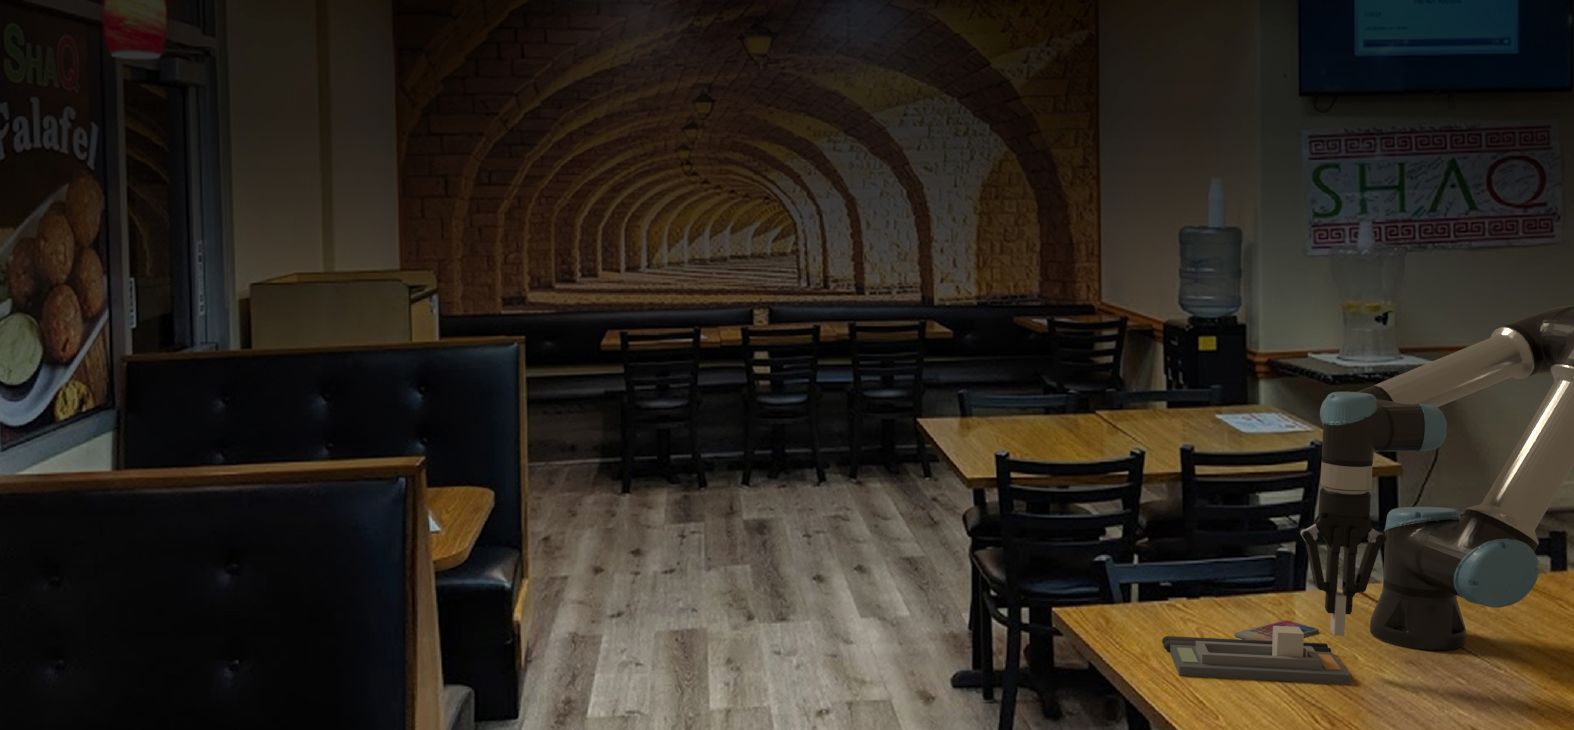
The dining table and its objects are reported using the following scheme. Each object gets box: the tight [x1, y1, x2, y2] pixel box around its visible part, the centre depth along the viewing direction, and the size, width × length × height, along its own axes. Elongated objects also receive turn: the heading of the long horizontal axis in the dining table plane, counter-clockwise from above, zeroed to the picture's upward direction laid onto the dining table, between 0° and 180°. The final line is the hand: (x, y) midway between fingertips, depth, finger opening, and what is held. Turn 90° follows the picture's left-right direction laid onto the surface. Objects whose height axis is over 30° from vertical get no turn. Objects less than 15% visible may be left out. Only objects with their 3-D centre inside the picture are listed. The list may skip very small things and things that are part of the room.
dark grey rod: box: [1161, 635, 1329, 648], centre depth 217 cm, size 27×2×2 cm, turn 81°
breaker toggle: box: [1272, 626, 1305, 657], centre depth 207 cm, size 4×4×5 cm
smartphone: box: [1233, 619, 1320, 641], centre depth 226 cm, size 7×1×15 cm
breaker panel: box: [1169, 641, 1351, 685], centre depth 208 cm, size 26×11×3 cm, turn 81°
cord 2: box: [1163, 640, 1332, 652], centre depth 215 cm, size 27×2×2 cm, turn 81°
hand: (1337, 632), depth 205 cm, fingers closed
